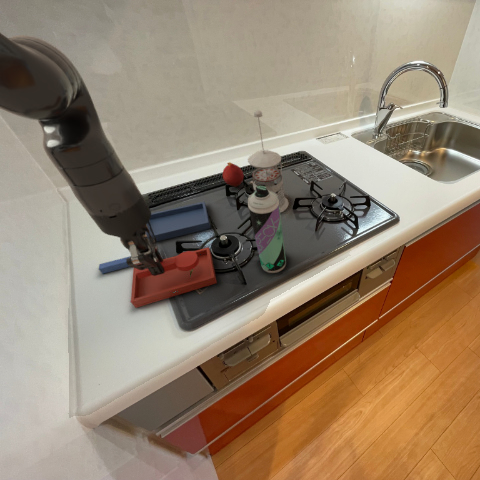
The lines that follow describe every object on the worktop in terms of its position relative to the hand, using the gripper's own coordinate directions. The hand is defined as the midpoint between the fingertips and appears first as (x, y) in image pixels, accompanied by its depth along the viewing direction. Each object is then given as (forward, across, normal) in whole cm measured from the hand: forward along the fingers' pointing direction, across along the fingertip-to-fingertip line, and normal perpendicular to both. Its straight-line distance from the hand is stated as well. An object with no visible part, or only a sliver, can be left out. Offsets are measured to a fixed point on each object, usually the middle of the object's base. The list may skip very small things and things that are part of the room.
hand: (159, 269), depth 54 cm
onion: (+4, -30, +20) cm, 36 cm away
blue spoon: (+4, -8, -7) cm, 11 cm away
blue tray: (+4, -18, +3) cm, 19 cm away
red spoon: (0, 0, +2) cm, 2 cm away
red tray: (+4, 0, +2) cm, 4 cm away
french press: (+4, -18, +28) cm, 33 cm away
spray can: (+4, +4, +22) cm, 23 cm away
